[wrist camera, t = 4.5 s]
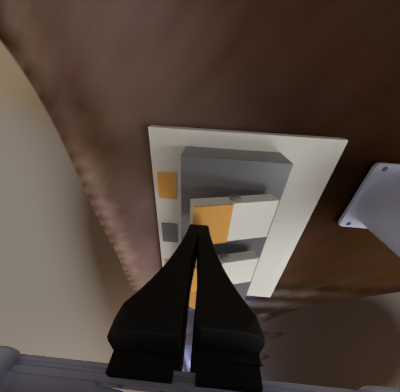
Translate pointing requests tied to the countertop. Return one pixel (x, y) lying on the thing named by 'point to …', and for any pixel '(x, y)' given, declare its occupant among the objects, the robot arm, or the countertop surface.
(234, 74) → the countertop surface
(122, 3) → the countertop surface
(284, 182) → the switch unit
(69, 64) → the countertop surface
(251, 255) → the rocker
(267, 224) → the rocker
